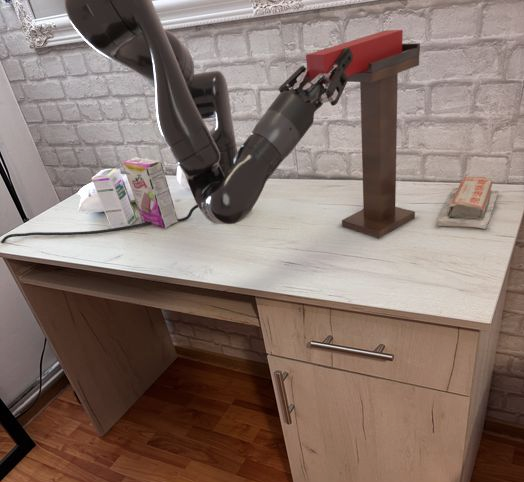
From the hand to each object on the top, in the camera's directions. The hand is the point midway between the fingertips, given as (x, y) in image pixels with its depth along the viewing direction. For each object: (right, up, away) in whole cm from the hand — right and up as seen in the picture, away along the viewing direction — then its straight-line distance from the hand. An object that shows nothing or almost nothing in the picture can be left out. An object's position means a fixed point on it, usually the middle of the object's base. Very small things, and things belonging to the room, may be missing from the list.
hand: (339, 52), depth 83 cm
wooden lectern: (+13, -23, +26) cm, 37 cm away
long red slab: (+4, -1, +4) cm, 6 cm away
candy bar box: (-42, -17, +47) cm, 65 cm away
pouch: (-59, -8, +63) cm, 87 cm away
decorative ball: (-35, -3, +63) cm, 72 cm away
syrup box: (-52, -17, +50) cm, 74 cm away
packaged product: (+33, -21, +23) cm, 45 cm away
